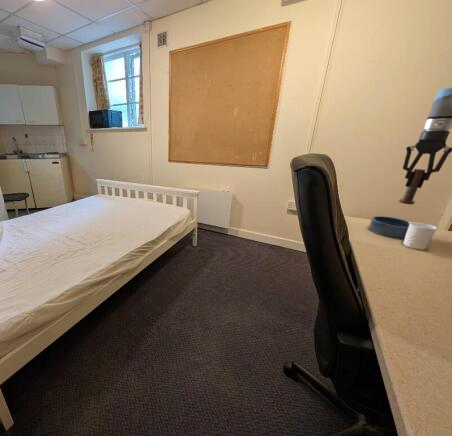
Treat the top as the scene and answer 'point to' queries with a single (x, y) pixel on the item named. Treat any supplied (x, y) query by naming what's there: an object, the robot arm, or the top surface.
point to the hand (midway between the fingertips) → (412, 186)
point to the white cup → (419, 235)
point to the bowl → (389, 226)
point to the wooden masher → (412, 187)
